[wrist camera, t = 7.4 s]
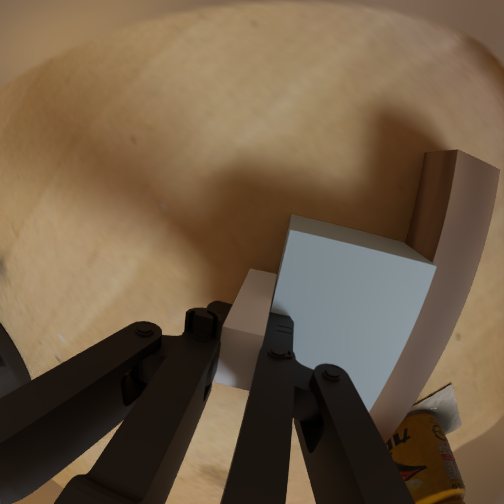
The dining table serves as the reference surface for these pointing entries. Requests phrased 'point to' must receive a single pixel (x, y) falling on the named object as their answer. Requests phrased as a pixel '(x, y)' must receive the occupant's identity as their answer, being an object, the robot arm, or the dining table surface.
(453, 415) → the condiment
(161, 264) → the dining table surface
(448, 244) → the board
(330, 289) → the block
